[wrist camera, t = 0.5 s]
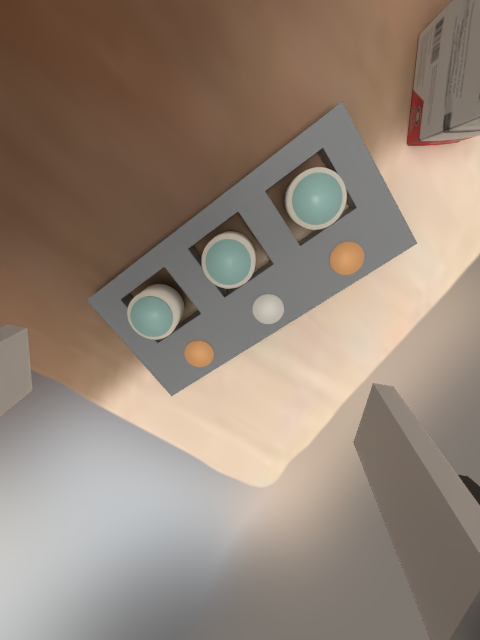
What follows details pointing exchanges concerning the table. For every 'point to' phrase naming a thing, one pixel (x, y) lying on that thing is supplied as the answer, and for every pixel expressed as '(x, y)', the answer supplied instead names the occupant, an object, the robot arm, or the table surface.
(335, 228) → the board
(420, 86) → the ink box
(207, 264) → the button
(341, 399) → the table surface
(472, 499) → the robot arm
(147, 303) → the button
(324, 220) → the button
